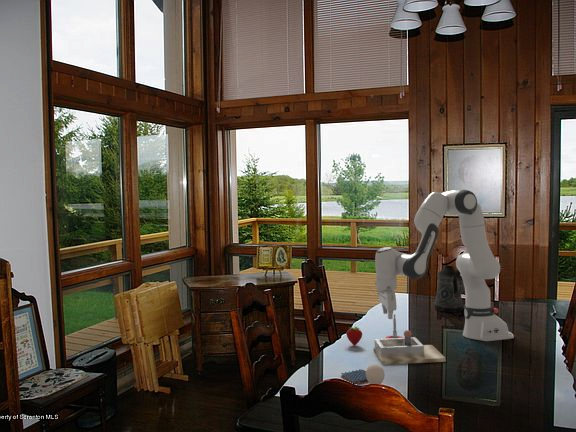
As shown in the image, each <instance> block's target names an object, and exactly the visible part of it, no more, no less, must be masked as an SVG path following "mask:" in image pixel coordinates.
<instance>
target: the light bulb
mask: <svg viewBox="0 0 576 432" xmlns="http://www.w3.org/2000/svg"><path fill="white" fill-rule="evenodd" d="M365 371H366V378H367V380H368V382H367V383H369V385H370V384H381V385H382V383H383V382H384V379H385V378H386V377H385V376H386V374H385V370H384V368H383V367H382V366H381V365H379V364H370V365H369V366H368V367H367V368H366V370H365Z"/></svg>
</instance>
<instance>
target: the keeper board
mask: <svg viewBox="0 0 576 432" xmlns="http://www.w3.org/2000/svg"><path fill="white" fill-rule="evenodd" d="M403 336H404V338H405V346H409V345H411V337H412V332H411V330H409V329H406V330H404V332H403ZM422 345H423V346H424V356H403V357H380V355H379V354H378V352H377V350H376V349H375V346H374V347H373V352H374V354H375V356H376V357H377V359H378V358H379V359H378V360H379V362H380V361H381V362H380V363H381V365H384V366H385V365H398V364H399V365H402V364H404V363H406V364H424V363H425V364H426V363H445V362H447V361H446V359H447V358H446V356H444V355H443V354H442V353H441V352H440V351H439V350H438V349H437V348H436V347H435V346H434V345H432V344H422Z"/></svg>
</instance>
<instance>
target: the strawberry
mask: <svg viewBox="0 0 576 432" xmlns="http://www.w3.org/2000/svg"><path fill="white" fill-rule="evenodd" d="M345 334H346V337H347V339H348V341H349V342H350V343H351V344H352V345H353V346H356V345H357V344H358V343H359V342H360V341H361V339H362V337H363V332H362V330H361V328H359V327H358V326H354V327H349V328H348V330H346V333H345Z"/></svg>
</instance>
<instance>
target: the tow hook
mask: <svg viewBox="0 0 576 432" xmlns="http://www.w3.org/2000/svg"><path fill="white" fill-rule="evenodd" d="M396 319H397V318H396V314H394V313H393V319H392V321H393V322H392V323H393V327H392V328H393V330H392V335H387V336H386V337H385V338H404V337H403V336H400V335H398V331H397V320H396ZM385 338H384V339H385Z"/></svg>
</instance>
